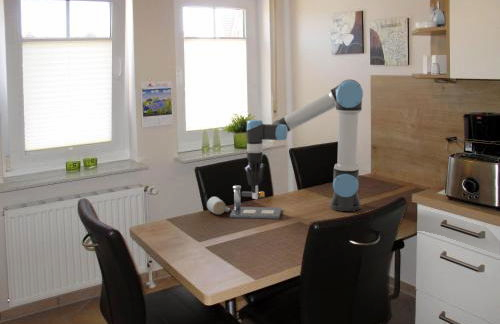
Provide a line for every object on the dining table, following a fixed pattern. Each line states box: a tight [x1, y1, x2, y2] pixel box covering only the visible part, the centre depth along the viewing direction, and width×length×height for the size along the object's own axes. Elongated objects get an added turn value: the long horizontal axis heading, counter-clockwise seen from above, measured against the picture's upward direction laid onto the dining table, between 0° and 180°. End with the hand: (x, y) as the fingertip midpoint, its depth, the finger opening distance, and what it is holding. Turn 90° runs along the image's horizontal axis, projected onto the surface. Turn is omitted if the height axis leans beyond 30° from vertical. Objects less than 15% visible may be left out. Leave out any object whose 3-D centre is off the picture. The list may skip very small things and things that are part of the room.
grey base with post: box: [229, 184, 283, 220], centre depth 256 cm, size 24×14×13 cm, turn 82°
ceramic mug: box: [206, 196, 231, 216], centre depth 260 cm, size 11×8×8 cm
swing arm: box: [241, 191, 265, 198], centre depth 259 cm, size 11×3×2 cm, turn 78°
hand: (255, 198), depth 257 cm, fingers closed
